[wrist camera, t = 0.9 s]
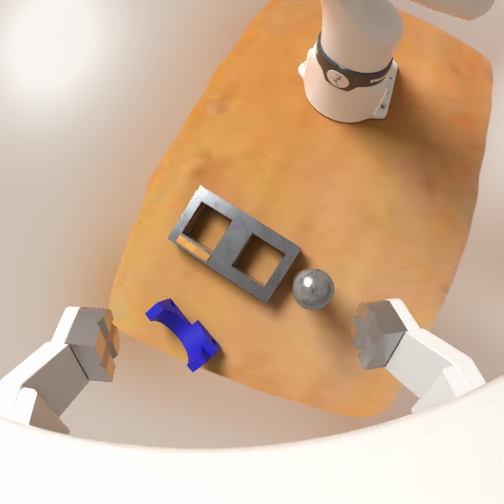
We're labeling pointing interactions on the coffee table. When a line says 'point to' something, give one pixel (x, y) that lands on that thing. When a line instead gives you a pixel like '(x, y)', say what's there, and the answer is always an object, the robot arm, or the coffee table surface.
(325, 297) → the steel bushing
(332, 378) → the coffee table surface
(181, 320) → the cable clip
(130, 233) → the coffee table surface
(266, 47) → the coffee table surface
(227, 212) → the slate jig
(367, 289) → the coffee table surface
